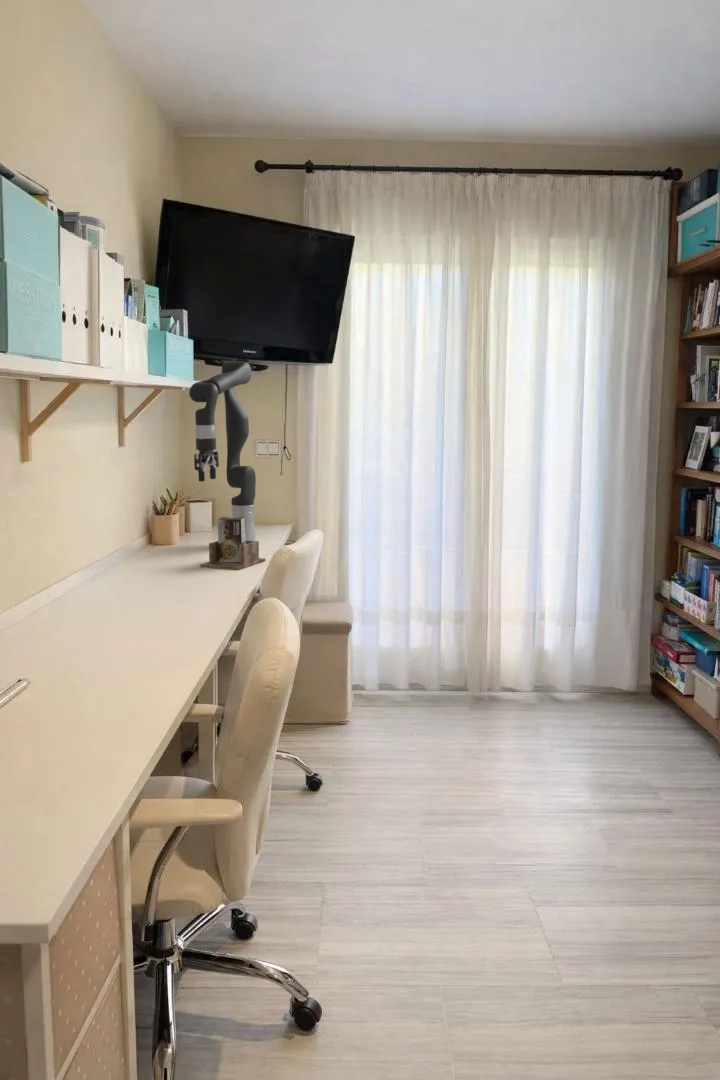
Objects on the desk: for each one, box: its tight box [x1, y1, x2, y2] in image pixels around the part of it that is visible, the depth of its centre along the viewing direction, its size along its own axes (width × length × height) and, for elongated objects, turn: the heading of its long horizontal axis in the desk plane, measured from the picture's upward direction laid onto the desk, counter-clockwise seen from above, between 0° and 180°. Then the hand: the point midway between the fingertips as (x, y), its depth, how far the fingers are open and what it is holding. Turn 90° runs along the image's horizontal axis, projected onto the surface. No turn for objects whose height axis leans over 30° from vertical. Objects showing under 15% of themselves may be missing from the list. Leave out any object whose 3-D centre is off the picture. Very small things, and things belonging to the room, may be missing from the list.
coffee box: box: [217, 516, 246, 562], centre depth 330 cm, size 9×6×16 cm
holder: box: [199, 540, 266, 571], centre depth 330 cm, size 20×16×8 cm
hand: (207, 480), depth 340 cm, fingers open, 8 cm apart
